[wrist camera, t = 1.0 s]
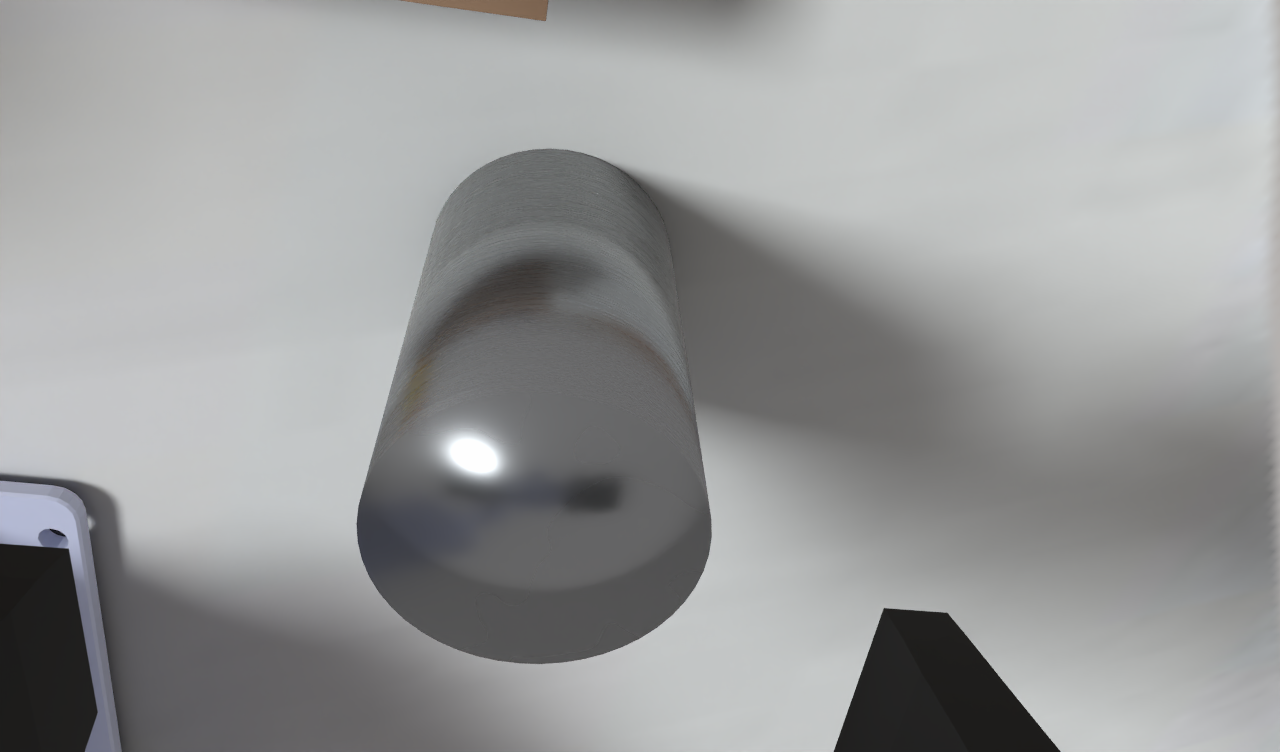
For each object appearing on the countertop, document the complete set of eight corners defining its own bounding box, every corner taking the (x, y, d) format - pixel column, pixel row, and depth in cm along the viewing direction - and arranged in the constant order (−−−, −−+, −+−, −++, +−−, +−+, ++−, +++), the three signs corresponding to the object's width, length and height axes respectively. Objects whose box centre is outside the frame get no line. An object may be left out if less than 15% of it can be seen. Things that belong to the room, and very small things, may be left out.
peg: (651, 376, 20) (679, 674, 14) (425, 352, 19) (354, 651, 13) (690, 165, 18) (742, 412, 12) (436, 132, 17) (359, 373, 11)
